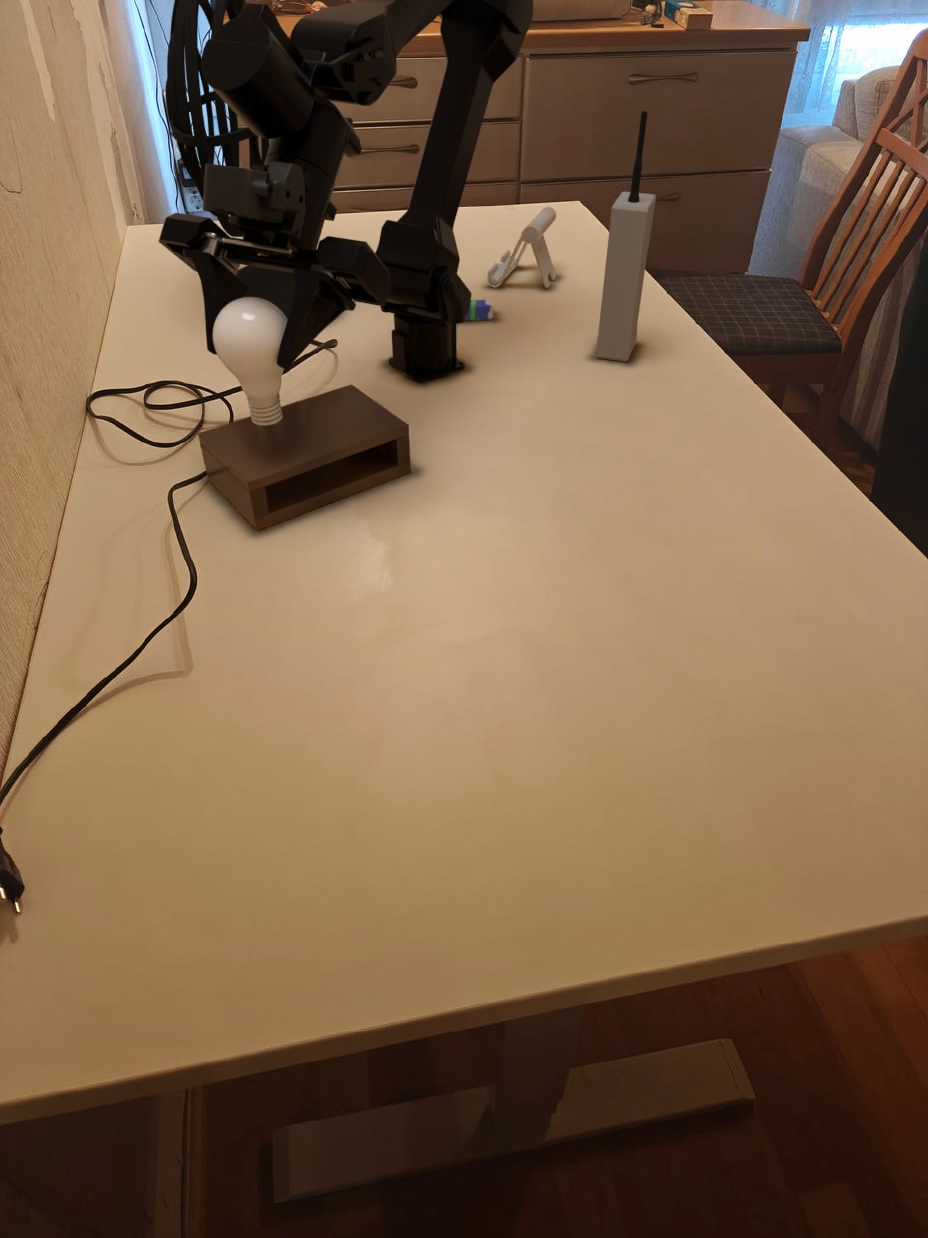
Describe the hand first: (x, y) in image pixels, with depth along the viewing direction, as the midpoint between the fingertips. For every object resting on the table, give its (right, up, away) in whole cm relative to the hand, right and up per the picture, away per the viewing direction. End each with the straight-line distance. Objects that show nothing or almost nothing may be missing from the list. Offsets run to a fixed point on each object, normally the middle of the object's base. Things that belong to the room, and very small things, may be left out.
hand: (246, 359), depth 70 cm
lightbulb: (+1, -4, +6) cm, 7 cm away
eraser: (+18, +17, +39) cm, 46 cm away
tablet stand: (+26, +25, +49) cm, 61 cm away
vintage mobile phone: (+35, +10, +32) cm, 49 cm away
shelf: (+3, -8, +11) cm, 14 cm away
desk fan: (-7, +21, +44) cm, 49 cm away
